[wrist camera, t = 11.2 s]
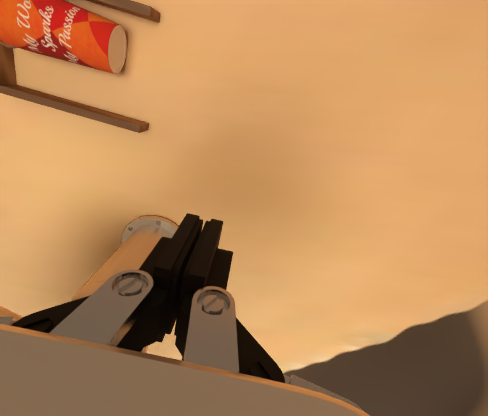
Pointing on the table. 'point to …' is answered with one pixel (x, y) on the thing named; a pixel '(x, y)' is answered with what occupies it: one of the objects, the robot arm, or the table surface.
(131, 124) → the u rest
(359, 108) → the table surface
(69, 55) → the paper cup
